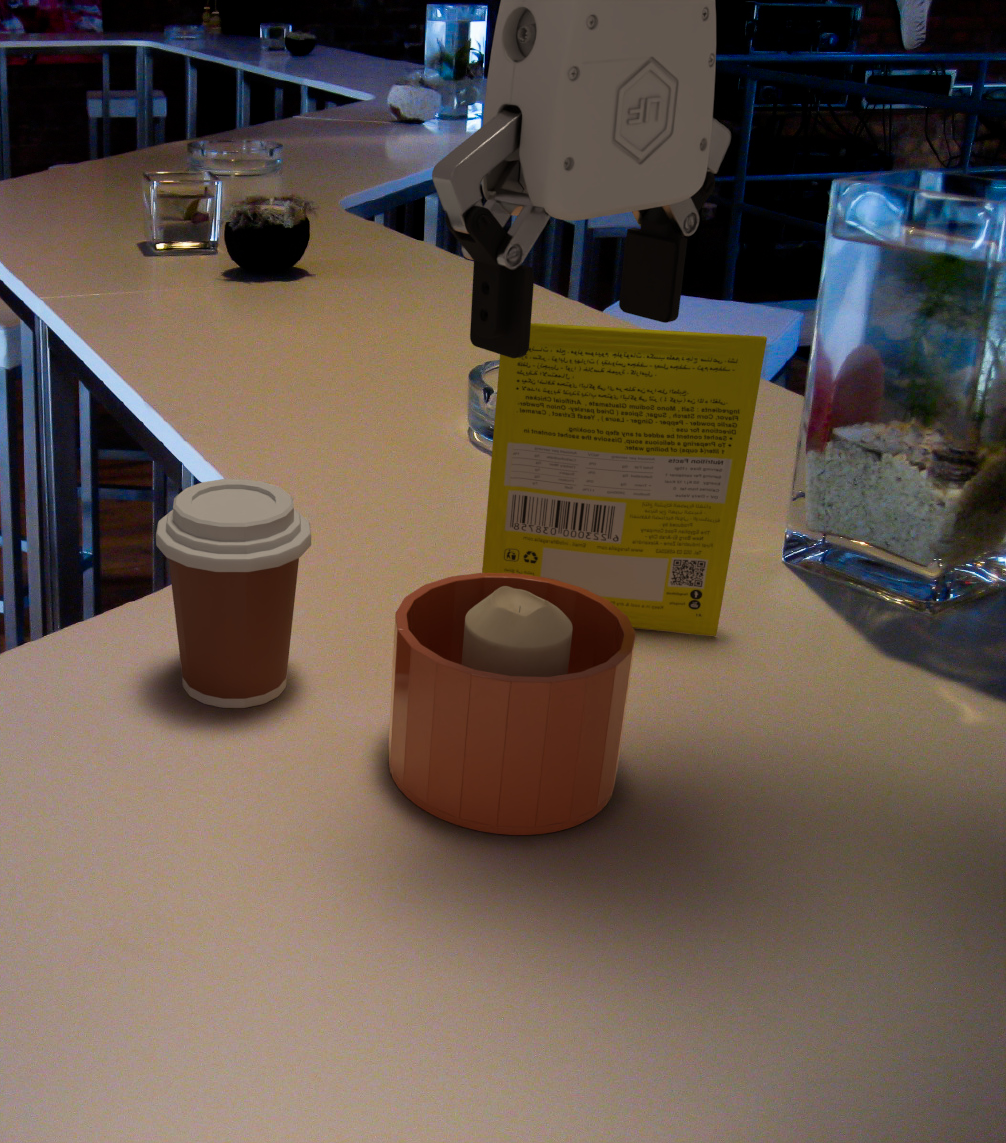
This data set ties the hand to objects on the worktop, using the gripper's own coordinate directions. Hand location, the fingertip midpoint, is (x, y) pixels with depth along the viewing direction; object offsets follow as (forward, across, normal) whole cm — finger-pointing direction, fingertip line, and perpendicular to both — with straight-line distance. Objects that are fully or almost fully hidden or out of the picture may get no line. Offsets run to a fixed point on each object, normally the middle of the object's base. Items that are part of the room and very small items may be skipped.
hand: (575, 333), depth 62 cm
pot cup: (+24, -1, +2) cm, 25 cm away
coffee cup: (+24, -8, +18) cm, 31 cm away
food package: (+25, +16, +11) cm, 31 cm away
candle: (+24, -1, +1) cm, 24 cm away
